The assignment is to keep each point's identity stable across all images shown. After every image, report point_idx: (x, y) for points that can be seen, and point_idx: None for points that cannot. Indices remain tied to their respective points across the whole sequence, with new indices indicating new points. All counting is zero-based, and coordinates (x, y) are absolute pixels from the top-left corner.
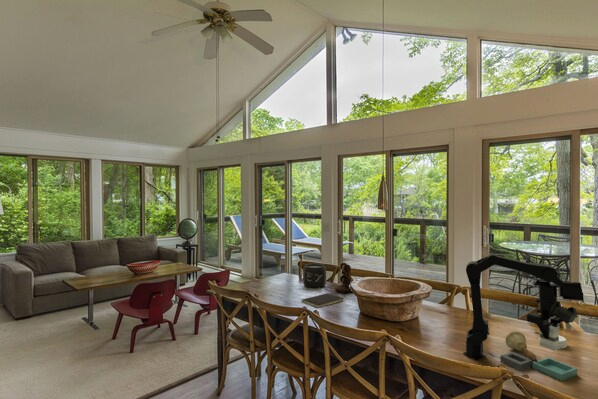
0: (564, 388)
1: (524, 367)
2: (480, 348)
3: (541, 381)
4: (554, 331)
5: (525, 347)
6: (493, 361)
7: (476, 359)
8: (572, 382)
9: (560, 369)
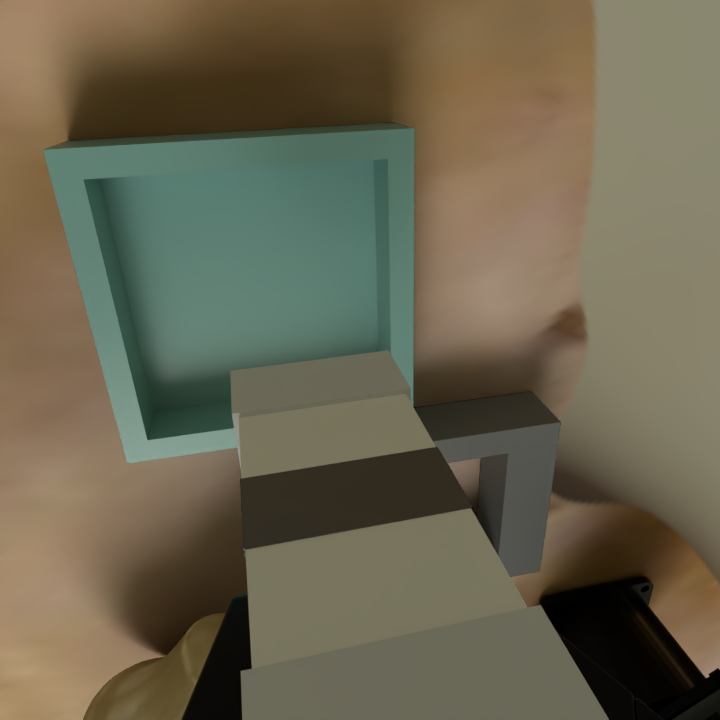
0: (515, 15)
1: (482, 409)
2: (644, 658)
3: (564, 204)
4: (545, 679)
5: (213, 638)
6: (554, 545)
7: (647, 580)
8: (298, 58)
9: (167, 282)
